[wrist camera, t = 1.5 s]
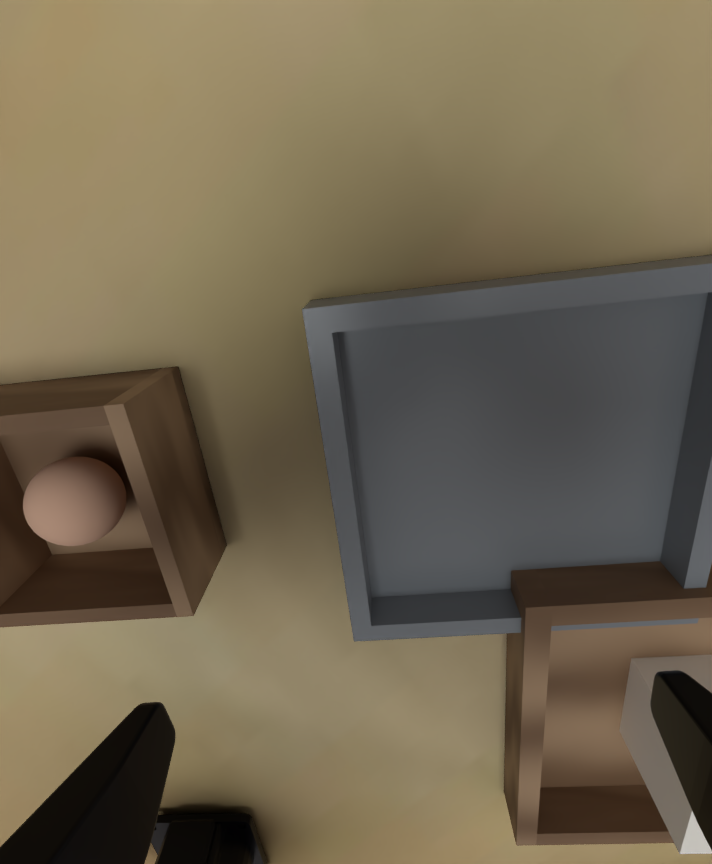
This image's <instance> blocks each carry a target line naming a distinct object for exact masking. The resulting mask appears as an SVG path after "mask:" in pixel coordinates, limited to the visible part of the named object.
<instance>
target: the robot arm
mask: <svg viewBox="0 0 712 864" xmlns="http://www.w3.org/2000/svg"><path fill="white" fill-rule="evenodd" d="M650 706H651V712H652V715H653V718H654V721H655V723H656V725H657V728H658V730H659V733H660V735H661V737H662V740H663V742H664V745H665V747H666V749H667V752H668V754H669V757H670V759H671V761H672V764H673V766H674V769H675V771H676V773H677V776H678V778H679V781H680V783H681V785H682V788H683V790H684V793H685V795H686V797H687V800H688V802H689V805H690V807H691V809H692V811H693V814H694V816H695V818H696V821H697V823H698V825H699V827H700V829H701V831H702V833H703V835H704V837H705V839H706V841H707V843H708V844H709V846H710V848H711V850H712V693H711V692H710V691H709V690H707V689H706V688H705V687H703V686H702V685H701V684H700V683H698V682H697V681H696V680H694V679H693V678H692V677H691V676H689V675H688V674H686V673H685V672H682V671H679V670H673V671H659V672H657V673H656V674H655V677H654V682H653V688H652V694H651V701H650ZM174 744H175V729H174V726H173V724H172V722H171V720H170V717H169V715H168V713H167V711H166V709H165V707H164V705H163V704H162V703H160V702H152V703H142V704H140V705H138V706H137V707H136V708H135V709H134V710H133V711H132V712H131V713H130V714H129V715H128V716H127V717H126V718H125V719H124V720H123V721H122V722H121V723H120V724H119V725H118V726H117V727H116V728H115V729H114V730H113V731H112V732H111V733H110V734H109V735H108V736H107V737H106V738H105V740H104V741H103V742H102V743H101V744H100V745H99V746H98V747H97V748H96V749H95V750H94V751H93V752H92V753H91V754H90V755H89V756H88V757H87V758H86V759H85V760H84V761H83V762H82V763H81V764H80V765H79V766H78V767H77V768H76V769H75V770H74V772H73V773H72V774H71V775H70V776H69V777H68V778H67V779H66V780H65V781H64V782H63V783H62V784H61V785H60V786H59V787H58V788H57V789H56V790H55V791H54V792H53V793H52V794H51V795H50V796H49V797H48V798H47V799H46V800H45V801H44V802H43V803H42V805H41V806H40V807H39V808H38V809H37V810H36V811H35V812H34V813H33V814H32V815H31V816H30V817H29V818H28V819H27V820H26V821H25V822H24V823H23V824H22V825H21V826H20V827H19V828H18V829H17V830H16V831H15V832H14V833H13V834H12V835H11V836H10V838H9V839H8V840H7V841H6V842H5V843H4V844H3V845H2V846H1V847H0V864H144V863H145V860H146V857H147V853H148V850H149V847H150V843H152V845H153V847H154V849H155V851H156V853H157V855H158V856H157V859H156V862H155V864H268V863H267V860H266V857H265V854H264V851H263V849H262V846H261V843H260V840H259V837H258V834H257V831H256V828H255V825H254V822H253V819H252V817H251V816H250V815H248V814H243V813H239V814H195V815H158V813H159V808H160V804H161V800H162V795H163V791H164V787H165V782H166V778H167V774H168V770H169V765H170V761H171V757H172V752H173V748H174Z"/></svg>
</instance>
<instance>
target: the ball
mask: <svg viewBox="0 0 712 864" xmlns="http://www.w3.org/2000/svg"><path fill="white" fill-rule="evenodd" d="M125 506H126V490H125V486H124V483H123V481H122V479H121V477H120V476H119V475H118V473H117V472H116V471H115V470H114V469H113V468H111V467H110V466H109V465H107V464H106V463H104V462H102V461H99V460H97V459H93V458H89V457H68V458H63V459H60V460H57V461H55V462H53V463H50V464H49V465H47V466H45V467H44V468H43V469H41V470H40V471H39V472H38V473H37V474H36V475H35V476H34V477H33V478H32V480H31V481H30V482H29V484H28V486H27V488H26V491H25V494H24V498H23V511H24V515H25V518H26V521H27V523H28V525H29V526H30V527H31V529H32V530H33V531H34V532H35V533H36V534H37V535H38V536H40V537H41V538H43V539H44V540H46V541H48V542H51V543H54V544H57V545H63V546H79V545H84V544H88V543H91V542H94V541H96V540H98V539H100V538H102V537H103V536H105V535H106V534H108V533H109V532H110V531H111V530H112V529H113V528H114V527H115V526H116V525H117V524H118V522H119V521H120V519H121V517H122V515H123V513H124V510H125Z"/></svg>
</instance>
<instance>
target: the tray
mask: <svg viewBox="0 0 712 864" xmlns="http://www.w3.org/2000/svg"><path fill="white" fill-rule="evenodd" d="M302 311H303V318H304V324H305V331H306V337H307V343H308V350H309V356H310V363H311V369H312V375H313V382H314V388H315V395H316V401H317V407H318V414H319V420H320V427H321V433H322V439H323V446H324V452H325V459H326V465H327V471H328V478H329V484H330V491H331V497H332V503H333V510H334V516H335V523H336V529H337V535H338V542H339V548H340V555H341V561H342V567H343V574H344V580H345V587H346V593H347V599H348V606H349V612H350V619H351V625H352V632H353V638H354V641H371V640H390V639H409V638H428V637H447V636H466V635H485V634H504V633H521V615H520V613H519V610H518V607H517V605H516V602H515V600H514V597H513V594H512V592H511V571H513V570H529V569H544V568H560V567H576V566H592V565H608V564H623V563H639V562H655V561H660V562H661V563H662V564H663V565H664V566H665V568H666V569H667V570H668V571H669V572H670V573H671V575H672V576H673V577H674V578H675V579H676V580H677V581H678V583H679V584H680V585H681V586H682V587H683V588H684V589H689V588H706V586H707V581H708V577H709V573H710V569H711V564H712V255H705V256H696V257H687V258H678V259H669V260H661V261H652V262H643V263H634V264H625V265H616V266H608V267H599V268H590V269H581V270H572V271H564V272H555V273H546V274H537V275H528V276H520V277H511V278H502V279H493V280H484V281H475V282H467V283H458V284H449V285H440V286H431V287H423V288H414V289H405V290H396V291H387V292H378V293H370V294H361V295H352V296H343V297H334V298H326V299H317V300H310V301H309V302H308V304H307V305H306V306H305V307H304V308H303V309H302ZM698 620H699V618H694V619H675V620H657V621H638V622H619V623H600V624H582V625H563V626H552V627H551V631H561V630H580V629H599V628H618V627H637V626H656V625H675V624H694V623H698Z"/></svg>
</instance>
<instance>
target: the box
mask: <svg viewBox="0 0 712 864" xmlns="http://www.w3.org/2000/svg"><path fill="white" fill-rule="evenodd" d="M68 457H89V458H93V459H97V460H99V461H102V462H104V463H106V464H107V465H109V466H110V467H111V468H113V469H114V470H115V471H116V472H117V473H118V475H119V476H120V477H121V479H122V481H123V483H124V486H125V490H126V506H125V510H124V513H123V515H122V517H121V519H120V521H119V522H118V524H117V525H116V526H115V527H114V528H113V529H112V530H111V531H110V532H109V533H108V534H106V535H105V536H103V537H102V538H100V539H98V540H96V541H94V542H91V543H88V544H84V545H79V546H63V545H57V544H54V543H51V542H48V541H46V540H44V539H43V538H41V537H40V536H38V535H37V534H36V533H35V532H34V531H33V530H32V529H31V527H30V526H29V525H28V523H27V521H26V518H25V515H24V511H23V498H24V494H25V491H26V488H27V486H28V484H29V482H30V481H31V480H32V478H33V477H34V476H35V475H36V474H37V473H38V472H39V471H40V470H41V469H43V468H44V467H45V466H47V465H49V464H50V463H53V462H55V461H57V460H60V459H63V458H68ZM226 546H227V545H226V541H225V537H224V534H223V530H222V526H221V523H220V519H219V515H218V512H217V508H216V504H215V500H214V497H213V493H212V489H211V486H210V482H209V478H208V475H207V471H206V467H205V464H204V460H203V456H202V453H201V449H200V445H199V442H198V438H197V434H196V431H195V427H194V423H193V420H192V416H191V412H190V409H189V405H188V401H187V398H186V394H185V390H184V387H183V383H182V379H181V376H180V372H179V368H178V367H169V368H159V369H150V370H140V371H131V372H121V373H111V374H102V375H92V376H83V377H73V378H63V379H54V380H44V381H35V382H25V383H15V384H6V385H0V627H13V626H30V625H47V624H64V623H81V622H98V621H115V620H132V619H149V618H166V617H183V616H194V614H195V611H196V609H197V607H198V605H199V603H200V601H201V599H202V597H203V595H204V592H205V590H206V588H207V586H208V584H209V582H210V580H211V578H212V576H213V573H214V571H215V569H216V567H217V565H218V563H219V561H220V559H221V557H222V555H223V552H224V550H225V548H226Z"/></svg>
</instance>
